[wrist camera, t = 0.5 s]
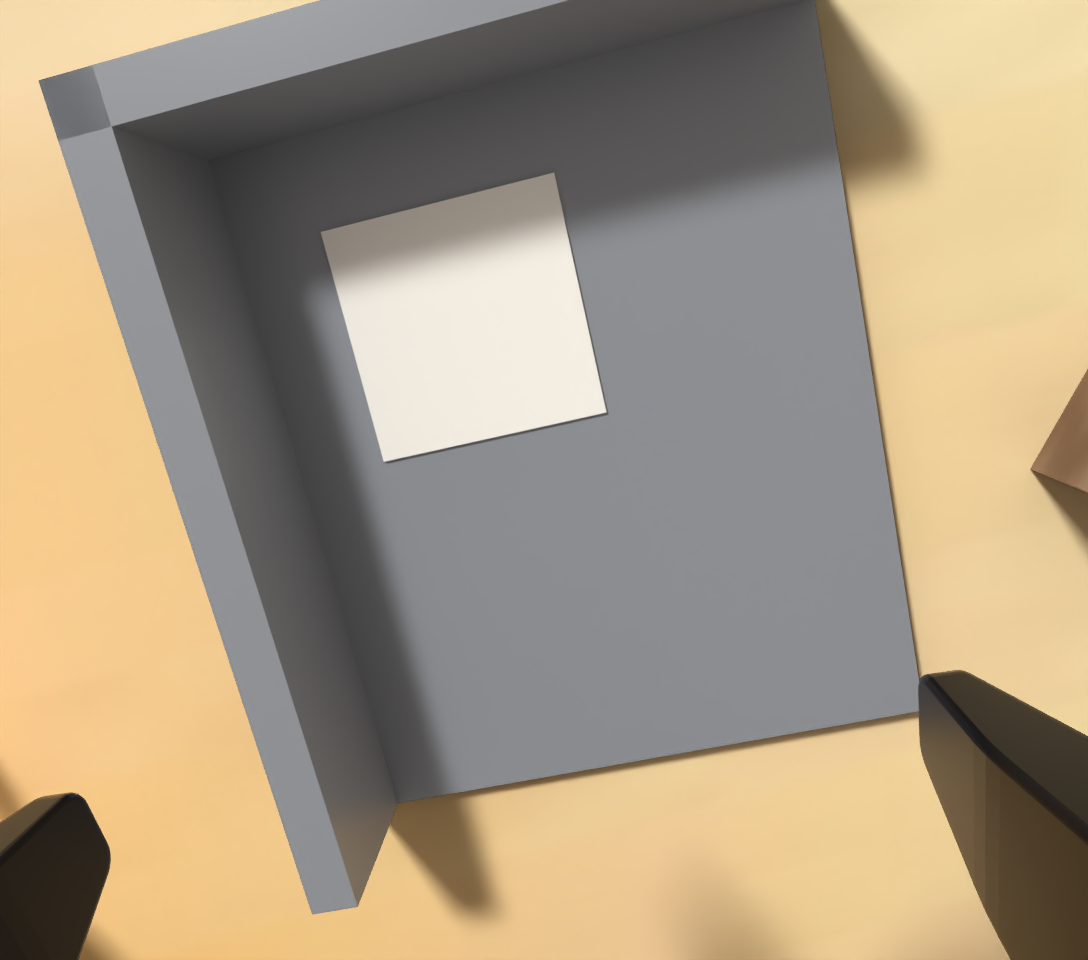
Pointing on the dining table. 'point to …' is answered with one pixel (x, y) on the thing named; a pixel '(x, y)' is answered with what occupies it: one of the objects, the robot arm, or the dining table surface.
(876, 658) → the tray
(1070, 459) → the walnut column
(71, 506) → the dining table surface
